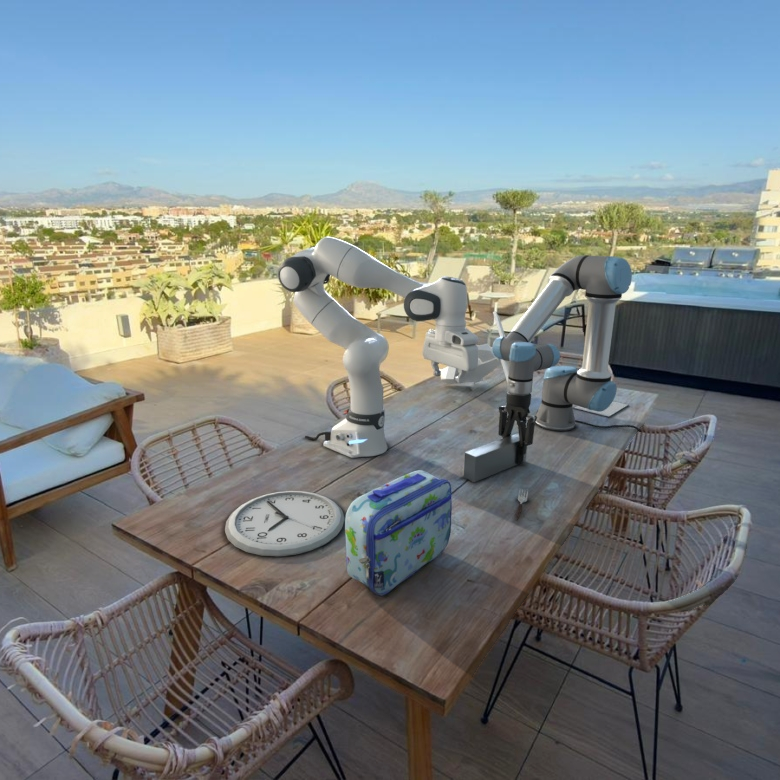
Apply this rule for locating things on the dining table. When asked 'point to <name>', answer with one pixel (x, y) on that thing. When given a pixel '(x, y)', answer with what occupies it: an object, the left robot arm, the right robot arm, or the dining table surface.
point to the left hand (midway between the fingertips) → (447, 379)
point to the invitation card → (609, 411)
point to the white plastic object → (479, 363)
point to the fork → (521, 499)
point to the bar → (491, 458)
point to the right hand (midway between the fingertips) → (513, 460)
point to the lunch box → (397, 529)
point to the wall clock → (284, 523)
